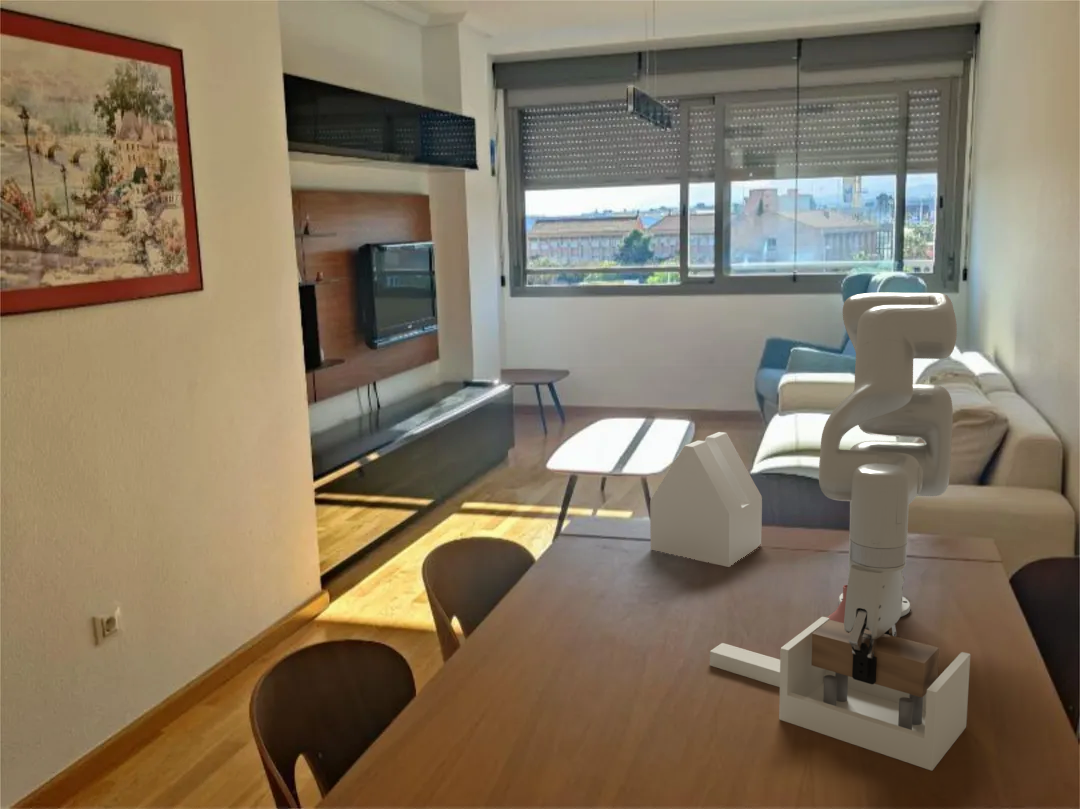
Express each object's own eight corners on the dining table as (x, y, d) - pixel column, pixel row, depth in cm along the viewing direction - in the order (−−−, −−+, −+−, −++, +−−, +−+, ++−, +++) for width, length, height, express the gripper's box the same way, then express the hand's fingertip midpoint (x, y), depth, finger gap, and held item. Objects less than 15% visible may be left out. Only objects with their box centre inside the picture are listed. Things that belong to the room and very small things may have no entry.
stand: (820, 683, 153) (822, 616, 151) (966, 727, 139) (970, 654, 136) (779, 719, 142) (780, 648, 140) (932, 770, 128) (936, 692, 126)
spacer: (722, 656, 163) (722, 642, 162) (799, 680, 154) (800, 665, 153) (709, 665, 160) (709, 651, 159) (788, 689, 151) (788, 675, 150)
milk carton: (650, 550, 216) (649, 440, 211) (685, 531, 227) (685, 427, 223) (729, 567, 204) (729, 451, 199) (761, 546, 216) (762, 437, 211)
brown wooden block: (828, 650, 146) (829, 619, 145) (937, 680, 136) (939, 647, 135) (811, 665, 142) (812, 633, 141) (922, 697, 132) (923, 663, 131)
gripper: (875, 531, 144) (871, 644, 148) (825, 564, 132) (822, 687, 135) (926, 541, 140) (921, 657, 143) (880, 576, 127) (875, 703, 130)
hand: (873, 671), depth 139 cm, fingers closed on brown wooden block, 6 cm apart
